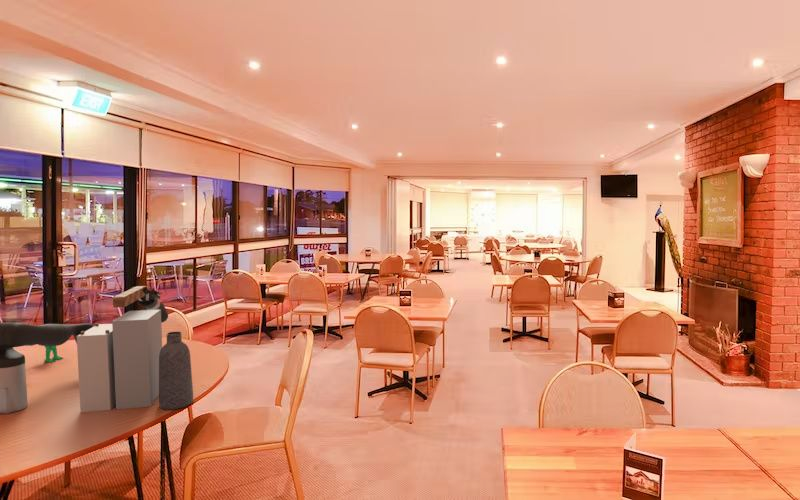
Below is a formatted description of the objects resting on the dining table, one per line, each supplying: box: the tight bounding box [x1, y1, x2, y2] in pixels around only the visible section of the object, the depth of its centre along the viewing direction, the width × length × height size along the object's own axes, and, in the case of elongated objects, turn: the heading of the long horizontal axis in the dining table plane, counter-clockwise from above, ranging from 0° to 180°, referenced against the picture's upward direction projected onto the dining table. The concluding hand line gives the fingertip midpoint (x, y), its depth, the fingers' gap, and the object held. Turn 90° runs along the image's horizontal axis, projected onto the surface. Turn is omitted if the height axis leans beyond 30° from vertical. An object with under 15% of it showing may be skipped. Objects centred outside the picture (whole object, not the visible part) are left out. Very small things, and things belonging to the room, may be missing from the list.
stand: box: [76, 309, 163, 413], centre depth 187 cm, size 20×24×34 cm
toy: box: [25, 344, 64, 363], centre depth 240 cm, size 26×6×15 cm, turn 168°
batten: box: [112, 285, 147, 309], centre depth 198 cm, size 28×4×4 cm, turn 12°
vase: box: [158, 331, 194, 411], centre depth 183 cm, size 12×12×28 cm
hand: (138, 289), depth 208 cm, fingers closed on batten, 4 cm apart
